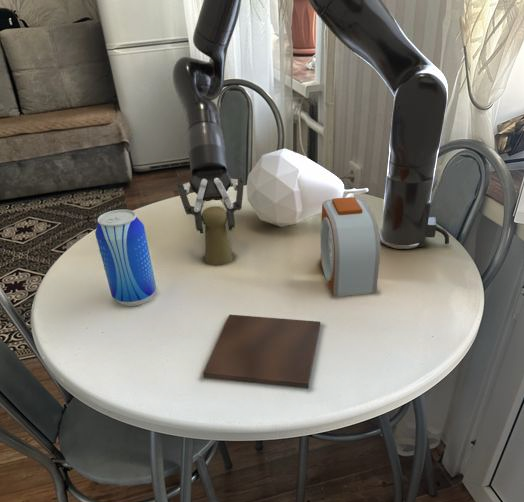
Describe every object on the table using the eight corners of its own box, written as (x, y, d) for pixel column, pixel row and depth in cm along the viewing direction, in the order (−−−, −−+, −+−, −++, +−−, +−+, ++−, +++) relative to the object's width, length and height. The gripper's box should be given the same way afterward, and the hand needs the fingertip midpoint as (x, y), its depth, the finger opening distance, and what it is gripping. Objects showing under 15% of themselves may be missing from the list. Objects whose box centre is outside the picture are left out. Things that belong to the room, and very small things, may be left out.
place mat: (320, 326, 86) (320, 321, 85) (308, 388, 73) (308, 383, 73) (229, 319, 89) (229, 314, 88) (203, 377, 76) (202, 372, 76)
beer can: (116, 286, 99) (96, 209, 89) (159, 283, 100) (143, 205, 90) (109, 310, 93) (87, 229, 83) (155, 306, 93) (138, 225, 83)
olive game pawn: (229, 265, 104) (224, 215, 97) (201, 264, 105) (194, 214, 98) (236, 252, 109) (231, 203, 102) (209, 251, 110) (203, 202, 103)
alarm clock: (317, 259, 105) (319, 196, 96) (357, 256, 105) (362, 192, 97) (331, 296, 93) (334, 228, 85) (376, 292, 93) (384, 224, 85)
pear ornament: (240, 136, 108) (373, 140, 102) (262, 170, 130) (371, 174, 124) (233, 213, 109) (364, 221, 103) (255, 234, 131) (364, 241, 125)
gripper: (169, 145, 99) (178, 227, 97) (242, 139, 100) (252, 220, 98) (174, 164, 106) (182, 240, 104) (241, 158, 107) (250, 234, 105)
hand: (216, 230), depth 101 cm, fingers closed on olive game pawn, 5 cm apart
